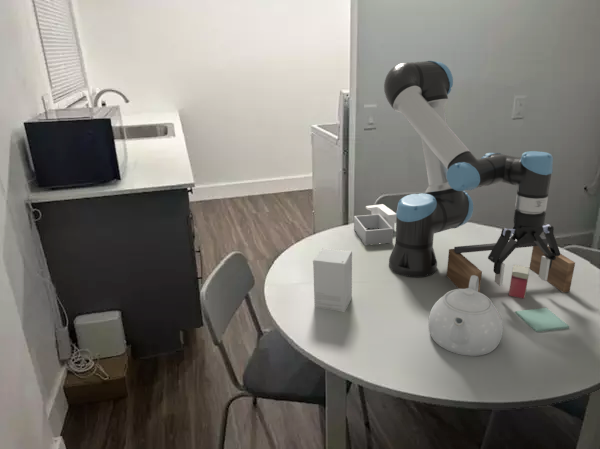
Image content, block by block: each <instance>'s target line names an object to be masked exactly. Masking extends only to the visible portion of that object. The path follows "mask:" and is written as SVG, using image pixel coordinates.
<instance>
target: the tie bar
mask: <svg viewBox="0 0 600 449" xmlns="http://www.w3.org/2000/svg"><path fill="white" fill-rule="evenodd" d="M540 237H541V238H542V240H543V242H544V243H545V244H546V246H549V245H548V243H547V240H546V237H545V235H540ZM495 244H496V242H493V243H483V244H470V245H460V246H454V248H453V249H454V252H455V253H461V254H465V253H478V252H485V251H492V249H493V248H494V246H495ZM533 246H538V245H537V244H536V243H535V241H534V242H533V243H526V244H522V243H521V245H520V246H517V247H516V248H515V249H521V248H529V247H530V248H533Z"/></svg>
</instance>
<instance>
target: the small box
mask: <svg viewBox="0 0 600 449" xmlns="http://www.w3.org/2000/svg"><path fill="white" fill-rule="evenodd" d="M529 276H530V266H523V265H519V264H513V265H512V271H511V277H510V283H509V289H508V290H509V291H508V296H509V297H514V298H519V299H525V298H526V293H527V287H528V282H529Z"/></svg>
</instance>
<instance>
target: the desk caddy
mask: <svg viewBox="0 0 600 449" xmlns="http://www.w3.org/2000/svg"><path fill="white" fill-rule="evenodd" d="M365 228H374V229H365ZM378 228H379V229H378ZM353 230H354V232H355V231H356V232H357V233H356V232H355V233H356V235H357V236H358V235H359V236H360V237H359V236H358V237H359V239H360V238H361V239H362V240H361V239H360V240H361V241H362V243H363V242H364V243H363V244H364V246H369V245H368V244H377V245H380V244H379V243H390V244H393V240H394V238H393V237H394V231H393V228H392V227H391V226H390V225H389V224H388V223H387V222H386V221H385V220H384V218H383V217H382V216H381V215H380V214H374V215H371V214H366V215H365V214H364V215H363V214H362V215H354V216H353Z"/></svg>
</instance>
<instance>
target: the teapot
mask: <svg viewBox="0 0 600 449" xmlns="http://www.w3.org/2000/svg"><path fill="white" fill-rule="evenodd" d="M478 286H479V278H478V276H475V275H472V276H471V278H470V282H469V288H466V289H459V288H456V289H452V290H449V291H447V292H446V293H445V294H444V295H443V296H441V297H440V298H439V299H438V300H437V301H435V303H434V304H433V306H432V308H431V310H430V312H429V317H428V325H427V326H428V332H429V335H430V337H431V338H432V340H433V341H434V342H435V343H436V345H438V346H439V347H441V348H442V349H445V350H446V351H448V352H451V353H454V354H457V355H459V356H460V355H462V356H468V357H477V356H478V357H480V356H485V355H487V354H490V353H491V352H493V351H494V350H496V348H497V347H498V346H499V344H500V342H501V340H502V336H503V329H504V328H503V321H502V317H501V315H500V314H501V313H500V312H499V311H498V309H497V307H496V306H495V305H494V303H493V302H492V299H490V298H489V297H488V296H487V295H485V294H484V293H482V292H481V291H480V292H478Z"/></svg>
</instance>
